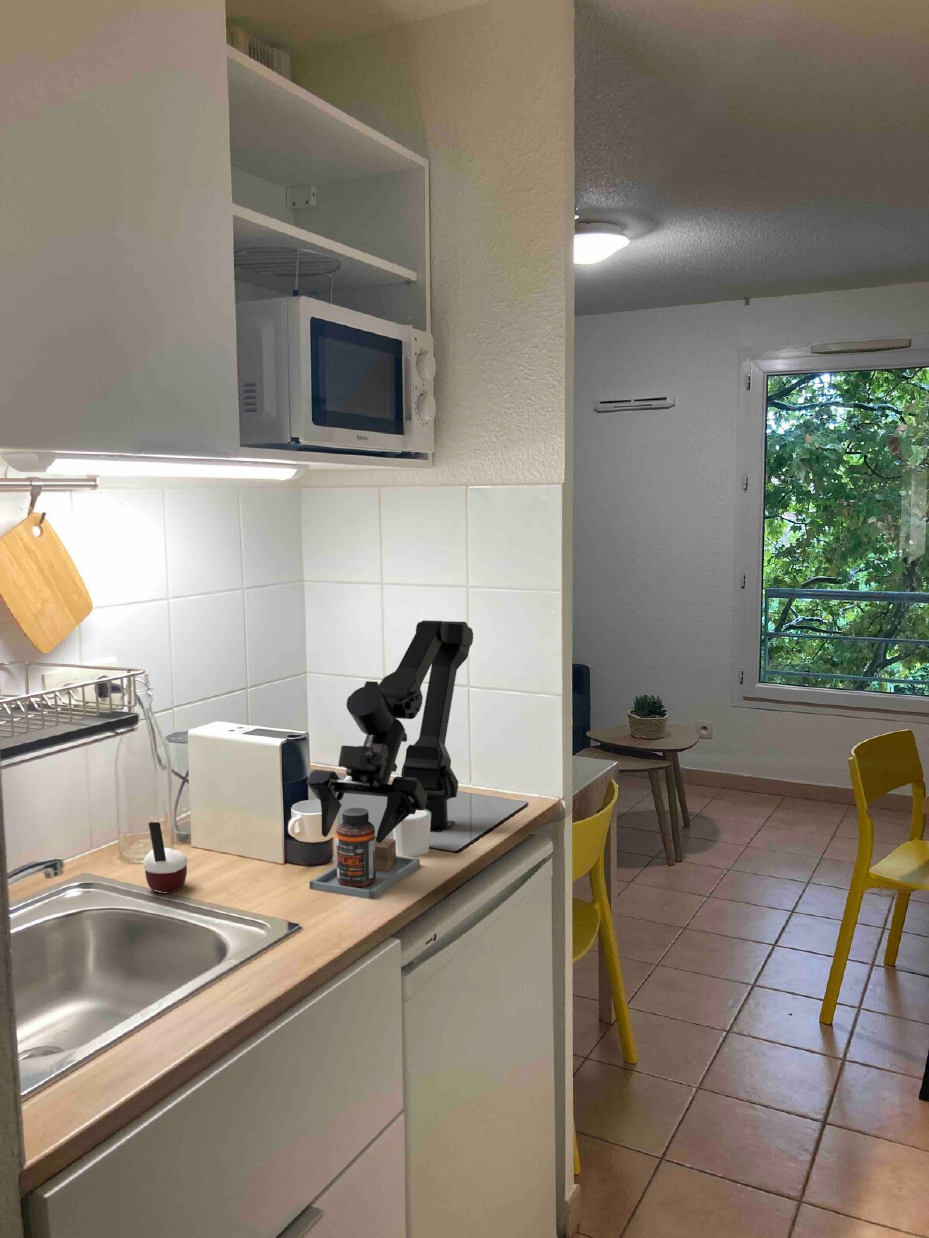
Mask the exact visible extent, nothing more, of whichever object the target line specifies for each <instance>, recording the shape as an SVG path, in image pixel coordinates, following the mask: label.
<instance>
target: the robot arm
mask: <svg viewBox="0 0 929 1238" xmlns="http://www.w3.org/2000/svg"><path fill="white" fill-rule="evenodd" d="M473 642H474V631H473V629H472V627H469V626H468V622H466V621H454V620H453V621H451V620H450V621H449V620H448V621H447V620H427V619H426V620H421V621H418V622H417V624H416V627H415V634H414V636H413V638H412V640H411V642H410V643H409V645H408V647H407V649H406V651H405V653H404V655H403V656H402V658H401V661H400V662H399V664H398V667H397V668H396V670H395V671H392V673H390V674H388V675H385V677H383V678H382V680H381V681H380V683H379V682H378V681H372V680H371V681H369V680H367V681H365V683H364V686H362V687H359V688H357V689H356V690H354V691H353V692H352V693H351V694H350V695H349V696H348V698H347V700H346V708H347V711H348V713H349V714H350V715H351V717H352V718H353V720H354V722H355V723H356V725H357V727H358V728H359V730H360V731H361V733H364V734H365V735H366V736H365V740H364V741H363V745H358V746H355V745H345V744H344V745H341V747H340V753H339V758H338V763H337V764H338V765H337V766H338V767H339V768H340V767H343V768H346V770H345V774H346V775H347V777H351V779H350V780H343V779H340V777H339V776H338V774H337V773H336V772H335V770H325V769H323V770H322V769H314V770H312V771H311V772H310V773H309V775H308V777H307V780H306V785H307V786H308V787H309V789H310V790H311V792H312V793H313V794H314V795H315V796H316V798H317V799H318V800H319V801H320V807H321V808H320V809H321V835H322V836H323V837H324V838H327V837H328V835H329V834H330V832H331V830H332V828H333V825H334V823H335V821H336V818H337V816H338V814H339V812H340V809H341V808H342V803H341V802H340V801H341V800H343V798H344V795H345V794H351V795H352V794H353V795H362V796H363V795H364V796H373V797H386V798H387V799H386V801H387V802H386V807H385V809H384V813H383V815H382V818H381V821H380V823H379V826H378V829H377V833H376V836H375V838H376V841H377V842H378V843H381V842H382V841H383V840H384V839H387V837H388V835H389V834H390V833H391V832H393V829H394V828H395V827H396V826H397V825H398V824H399V823H400V822H401V821H403V820H404V819H405V818H406V817H407V816H408V815H410V814H415V813H416V810H424V809H425V810H428V811H430V812H431V825H430V832H434V833H441V832H443V831H447V830H449V829H450V828H452V827H453V826H455V825H456V821H454V820H449V819H448V817H449V816H448V815H449V814H448V801H449V800H450V799H453V798H457V796H458V795H457V794H458V790H459V781H458V778H457V777H456V775H455V773H454V772H453V770H452V768H451V765H452V764H451V763H452V760H451V757H450V754H449V752H448V750H447V747H446V739H447V733H448V726H449V721H450V714H451V708H452V702H453V697H454V689H455V683H456V678H457V672H458V669H459V668H460V667H461V665H462V664H463V663H464V662H466V660H467V659H468V656H469V652H470V648H471V647H472V645H473ZM429 670H430V673H429V679H428V683H427V690H426V695H425V696H426V697H425V702H424V706H423V712H422V720H421V725H420V731H419V736H418V739H417V740H416V741H415V743H414V744H409V745H408V746H407V748H406V750H405V757H404V762H403V764H402V768H401V776H396V777H394V778H393V779H392V782H391V784H390V783H389V782H390V779H391V776H392V773H396V772H397V769H398V765H397V764H396V760H397V757H398V754H399V750H400V747H401V745H402V742H404V743H406V742H407V741H408V734H407V733H406V728H405V727H404V725H403V723H402V722H401V721H400V720H399V719H402V720H404V719H405V720H414V719H415V718H416V717H417V715H418V713H419V712H420V711H421V709H422V705H423V699H424V697H423V694H422V690H421V688H422V684H423V682H424V680H425V678H426V677H427V676H426V675H427V674H428V672H429ZM452 825H453V826H452ZM451 826H452V827H451ZM448 828H449V829H448Z"/></svg>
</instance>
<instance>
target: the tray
mask: <svg viewBox="0 0 929 1238" xmlns="http://www.w3.org/2000/svg"><path fill="white" fill-rule="evenodd" d="M420 861H421V860H420V858H414V857H410V856H402V855H396V864H395V865H394V866H393V868H392V869H391V870H390V871H389V872H379V871H376V879H375V881H374V883H372V884H371V885H369V886H366V887H362V888H354V887H347V886H342V885H340V884H339V883H338V880H337V864H336V865H335V866H333V867H332V868H329V870H326V871H325V872H323V873H322V874H320V875H318V876H317V877H315V878H313V879H311V880H310V881H309V882H308V883H309V885H308V886H309V889H310V890H315V891H321V892H327V893H335V894H340V895H347V896H351V897H357V898H364V899H371V900H373V899H375V898H376V897H378V896H379V895H380V894H382V893H383V892H385V891H386V890H388V889H389V888H390V887H391V886H393V885H394V884H396V883H397V882H399V880H402V878H404V877H405V876H406V875H408V874H410V873H411V872H413V871H414V870H416V869H417V868H418V867H420V865H421V864H420V863H421V862H420Z"/></svg>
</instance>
